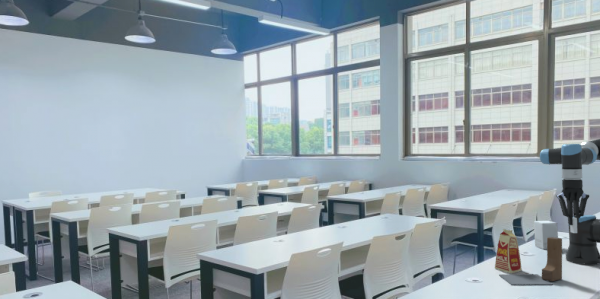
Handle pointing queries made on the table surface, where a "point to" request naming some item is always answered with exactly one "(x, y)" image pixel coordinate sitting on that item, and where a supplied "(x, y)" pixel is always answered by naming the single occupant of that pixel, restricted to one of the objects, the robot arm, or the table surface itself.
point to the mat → (524, 279)
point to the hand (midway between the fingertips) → (573, 232)
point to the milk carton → (508, 253)
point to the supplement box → (544, 232)
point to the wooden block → (553, 260)
